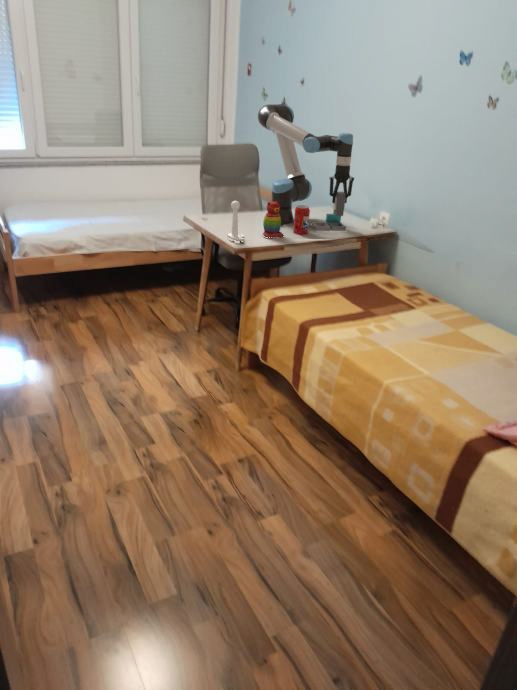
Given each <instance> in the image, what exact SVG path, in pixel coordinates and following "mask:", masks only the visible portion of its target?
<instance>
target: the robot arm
mask: <svg viewBox="0 0 517 690" xmlns="http://www.w3.org/2000/svg"><path fill="white" fill-rule="evenodd" d="M294 119H295V114H294V110H293V109H292V107H291V106H289V105H288V104H284V103H280V104H279V103H278V104H277V103H275V104H270V103H269V104H264V105H263V106H262V107H261V108H259V110H258V113H257V120H258V122H259V124H260V125H261V127H262V128H265V129H266V130H268V131H272V133H273V134H275V135H276V138H277V139H276V140H277V142H278V148H279V150H280V154H281V158H282V162H283V165H284V170H285V173H286V178H279V179H276V180H274V181H273V182H272V187H271V202H276V201H278V202H279V206H280V211H279V212H278V213H279V214H280V218H281V226H284V225H290V224H294V214H293V209H292V207H293V206H292V205H293V203H295V202H301V201H304V200H307V199H308V198H309V197H310V195H311V194H312V191H313V190H312V189H313V186H312V183H311V181H310V180H309V179H307V178H306V174H305V173H303V172H302V169H301V166H300V165H301V164H300V161H299V158H298V153H297V149H296V146H295V143H296V144H297V145H299V146H301V147H302V148H303V150H304V152H306V153H309V154H315V153H320V152H336V161H335V163H336V165H335V170H334V174H333V175H332V176H329V196H330V197H332V200H331V203H332V204H333V206H332V208H333V211H334V210H336V204H337V197H336V194H337V192H339V188H340V185H341V183H342V187H343V192H344V193H345V203H344V208H345V206H346V204H347V203H348V202H347V200H348V198H349V197H351V196H352V191H353V190H352V189H353V183H354V180H355V177H353V176H351V175H350V170H351V162H352V153H353V152H352V151H353V146H354V145H353V144H354V135H353V133H349V132H339V135H338V136H335V135H329V134H322V135H321V136H316V135H314V134H313V133H311V132H309V131H307V130H306V129H303V128H301V127H300V126H298V125H296V124H294ZM348 180H349V181H348ZM334 181H336V182H335V183H334ZM347 181H348V182H347ZM347 183H348V185H347ZM334 184H335V186H334Z"/></svg>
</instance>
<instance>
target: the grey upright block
mask: <svg viewBox="0 0 517 690" xmlns="http://www.w3.org/2000/svg"><path fill="white" fill-rule="evenodd" d="M336 197H337V204H336V210H334V209H333V213H332V214H334V215H336V216H341V217H343V216H344V210H345V207H344V203H345V193H344V191H337V194H336ZM345 204H346V203H345Z"/></svg>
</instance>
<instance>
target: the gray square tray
mask: <svg viewBox="0 0 517 690" xmlns="http://www.w3.org/2000/svg"><path fill="white" fill-rule="evenodd" d="M309 225H310V226H311V227H312V228H313V229H314V230H315V231H316V233H348V230H331V229H330V226H329V225H328V224H327V223H326V221H323V222H322V221H316V222H315V221H313V222H311V223H309Z"/></svg>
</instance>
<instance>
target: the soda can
mask: <svg viewBox="0 0 517 690" xmlns="http://www.w3.org/2000/svg"><path fill="white" fill-rule="evenodd" d="M310 211H311V210H310V207H309V205H303V204H302V205H301V204H299V205H296V207H295V209H294V214H293V218H294V222H293V231H292V232H293V234H295V235H300V236H305V235H308V234H309V225H310V213H311V212H310Z"/></svg>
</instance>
